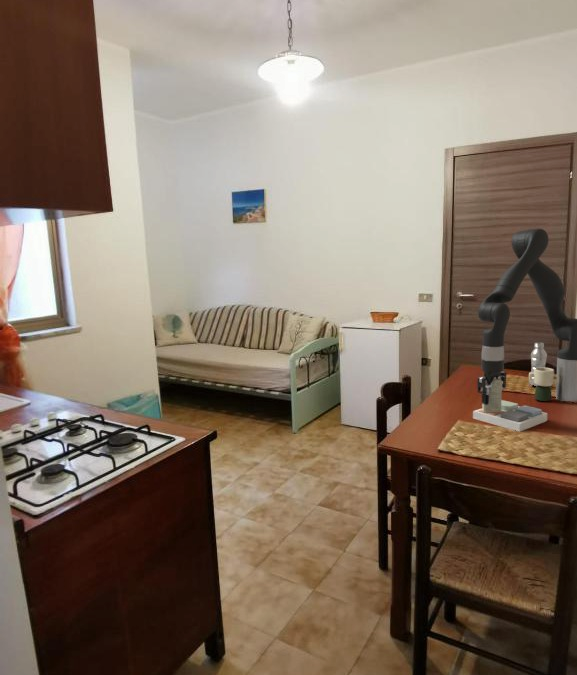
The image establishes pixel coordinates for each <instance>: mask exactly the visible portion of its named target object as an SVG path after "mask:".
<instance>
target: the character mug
mask: <svg viewBox="0 0 577 675" xmlns="http://www.w3.org/2000/svg"><path fill="white" fill-rule="evenodd" d="M532 375H534V378H531V376H532ZM556 377H557V378H556ZM554 378H555V379H554ZM528 380H533V381H534V383H535V384H536V385H538V386H537V387H535V389H534V390H535V392H534V397H533V398H534V399H535V400H537V401H541V402H548V401H549V402H550V401H551V400H553V398H552V397H553V396H552V389H551V386H553V385H554V383H555V384H556V383H558V382H559V375H557V373H555V369H554V368H550V367H546V366H545V367H539V368H535V369H534V373H532V372H531V371H530V372H529V373H528Z"/></svg>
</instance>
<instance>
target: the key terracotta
mask: <svg viewBox="0 0 577 675" xmlns="http://www.w3.org/2000/svg"><path fill="white" fill-rule="evenodd" d="M479 412H482V413H485V414H489V415H493V416H496V415H499V414H501V413H504V411H501V413H500V412H497V413H496V412H483V409H482V410H479Z"/></svg>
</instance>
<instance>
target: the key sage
mask: <svg viewBox="0 0 577 675" xmlns="http://www.w3.org/2000/svg"><path fill="white" fill-rule="evenodd" d="M518 406H519V403H516V402H512V401H507V400H503V399H501V410H505V411H510V410H514V409H515V408H518Z"/></svg>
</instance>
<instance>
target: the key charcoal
mask: <svg viewBox="0 0 577 675" xmlns="http://www.w3.org/2000/svg"><path fill="white" fill-rule="evenodd" d="M501 418H504V419H508V420H511V421H515V422H521V421H524V420H526V419H528V414H525V413H521V412H517V411H513V410H510V411H507V412H504V413H501Z"/></svg>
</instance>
